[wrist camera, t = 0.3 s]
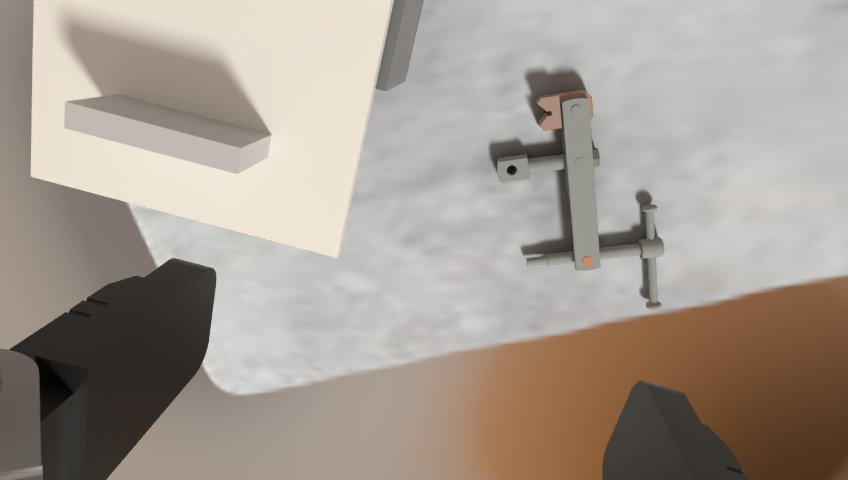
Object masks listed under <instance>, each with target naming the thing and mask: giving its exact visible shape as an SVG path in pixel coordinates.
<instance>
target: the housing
mask: <svg viewBox="0 0 848 480" xmlns="http://www.w3.org/2000/svg"><path fill="white" fill-rule="evenodd" d="M423 1H424V0H394V3H393V8H392V12H391V17H390V22H389V26H388V31H387V36H386V41H385V45H384V50H383V55H382V59H381V64H380V69H379V73H378V78H377V83H376V87H375V88H376V89H380V90H384V91H387V90H389V89H391V88H393V87H395V86H397V85H399V84H401V83H403V82H405V79H406V75H407V70H408V66H409V62H410V57H411V53H412V49H413V44H414V40H415V35H416V31H417V27H418V22H419V18H420V14H421V9H422V5H423Z"/></svg>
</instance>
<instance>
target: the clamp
mask: <svg viewBox="0 0 848 480" xmlns="http://www.w3.org/2000/svg"><path fill="white" fill-rule="evenodd" d="M535 102H536V103H537V104H538V105H539V106H540V107H542V108H543V109H544V110H546V111H547V112H548V111H549V112H548V113H544V114H543V116H542V117H541V118H540V120H539V121H538V122H537V124H538V125H539V127H540V128H542V129H543V130H544V131H546V130H553V129H559V128H561V136H562V148H563V154H559V155H552V156H545V157H538V158H531V159H527V154H522V155H515V156H508V157H501V158H498V160H497V172H498V177H499V179H500V182H501V183H505V182H513V181H520V180H527V179H529V174H534V173H541V172H548V171H556V170H563V169H564V171H565V183H566V195H568V193H569V200H570V212H571V224H572V236H573V251H568V252H560V253H551V254H546V255H544V256H541V257H534V258H527V266H531V265H540V264H542V265H546V264H547V265H557V264H565V263H574V262H575V268H576V270H592V269H597V268H600V259H609V258H618V257H626V256H635V255H639V256H640V258H641V259H643V258H647V263H648V284H649V302H647V303H646V307H647V308H649V309H653V310H655V309H659V308H660V307H661V303H660V302H658V299H657V276H656V257H661V256H662V255H663V254H664V244H663V241H662V239H661V238H660V237H655V230H654V211H656V210H657V206H656V205H653V204H647V205H644V206H642V207H641V210H642V211H643V212H645V221H646V238H645V239H639V240H638V243H636V244H628V245H619V246H611V247H602V248H599V238H598V224H597V209H596V195H595V181H594V167H595V166H599V164H600V157H599V151H598V149H597V148H593V149H592V138H591V123H590V120H591V118H592V117H593V104H592V96H591V95H589V94H588V93H587V92H585V91H584V90H581V89H580V90H574V91H567V92H561V93H554V94H548V95H541V96H538V98H537V99H536V100H535ZM511 165H513V166H515V167H516V169H515V171H514V172H508V171H507V168H508V167H509V166H511Z"/></svg>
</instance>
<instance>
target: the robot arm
mask: <svg viewBox="0 0 848 480" xmlns="http://www.w3.org/2000/svg"><path fill="white" fill-rule="evenodd" d="M215 288H216V272H215V270H214V269H213V268H210V267H206V266H203V265H199V264H195V263H191V262H187V261H183V260H179V259H176V258H172V259H170V260H168V261H167V262H166V263H164V264H163V265H161V266H160V267H159V268H157V269H156V270H155V271H153V272H152V273H150V274H149V275H147V276H146V277H145V278H143V277H139V276H134V277H131V278H127V279H124V280H121V281H118V282H114V283H111V284H108V285H106V286H105V287H103V288H101V289H100V290H98V291H97V292H95V293H94V294H92V295H91V296H89V297H88V298H87V300H86V301H82V302H80V303H79V304H77V305H76V306H74V307H73V308H71V309H70V311H69V313H66V312H65V313H64V314H62V315H61V316H59V317H58V318H56V319H55V320H53V321H52V322H50V323H49V324H47V325H46V326H44V327H43V328H41V329H39V330H38V331H37V332H35V333H33V334H32V335H30V336H29V337H27V338H26V339H25V340H23V341H21V342H20V343H18V344H17V345H15V346H14V347H12V348H11V349H9V350H5V349H0V480H106V479H107V478H108V477H109V475H110V474H111V473H112V472H113V471H114V469H116V467H117V466H118V465H119V464H120V463H121V461H122V460H123V459H124V458H125V457H126V456H127V454H128V453H129V452H130V451H131V450H132V448H133V447H134V446H135V445H136V444H137V443H138V441H139V440H140V439H141V438H142V437H143V435H144V434H145V433H146V432H147V431H148V430H149V428H150V427H151V426H152V425H153V424H154V422H155V421H156V420H157V419H158V418H159V417H160V415H161V414H162V413H163V412H164V411H165V409H166V408H167V407H168V406H169V405H170V404H171V402H172V401H173V400H174V399H175V398H176V396H177V395H178V394H179V393H180V392H181V391H182V389H183V388H184V387H185V386H186V385H187V384H188V382H189V381H190V380H191V379H192V378H193V376H194V375H195V374H196V373H197V371H198V370H199V368H200V366H201V364H202V362H203V359H204V357H205V354H206V351H207V347H208V343H209V335H210V327H211V319H212V311H213V303H214V296H215ZM743 472H744V470H743V468H742V467H741V465H740V463H739V462H738V460H737V459H736V457H735V455H734V454H733V452H732V450H731V449H730V447H728V445H726V444H725V443H724V442H723V441H722V440H721V439H720V438H719V437H718V436H717V435H716V434H715V433H714V432H713V431H712V430H711V429H710V428H709V427H708V426H706V425H703V424H702V423H701V421H700V420H699V418H698V416H697V415H696V413H695V411H694V410H693V408H692V406H691V404H690V402H689V401H688V399H687V397H686V395H685V394H684V393H683V392H682V391H679V390H675V389H671V388H667V387H664V386H660V385H655V384H652V383H648V382H644V381H639V382H637V383H636V384H635V385H634V386H633V388H632V390H631V392H630V394H629V396H628V399H627V401H626V403H625V405H624V408H623V410H622V412H621V415H620V417H619V419H618V422H617V424H616V426H615V429H614V431H613V433H612V435H611V438H610V440H609V442H608V445H607V447H606V450H605V454H604V459H603V468H602V475H603V480H749V478H748V477H747V475H744V474H743Z"/></svg>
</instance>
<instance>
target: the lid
mask: <svg viewBox="0 0 848 480" xmlns="http://www.w3.org/2000/svg"><path fill="white" fill-rule="evenodd" d="M393 3H394V0H34V16H33V76H32V78H33V80H32V138H31V139H32V140H31V177H35V178H38V179H42V180H46V181H50V182H53V183H57V184H61V185H65V186H68V187H72V188H76V189H80V190H83V191H87V192H91V193H95V194H98V195H102V196H106V197H110V198H114V199H117V200H121V201H125V202H128V203H132V204H136V205H140V206H144V207H147V208H151V209H155V210H159V211H162V212H166V213H170V214H174V215H177V216H181V217H185V218H189V219H192V220H196V221H200V222H204V223H207V224H211V225H215V226H219V227H222V228H226V229H230V230H234V231H237V232H241V233H245V234H249V235H252V236H256V237H260V238H264V239H267V240H271V241H275V242H279V243H283V244H286V245H290V246H294V247H298V248H301V249H305V250H309V251H313V252H316V253H320V254H324V255H328V256H331V257H335V258H337V257H338V255H339V254H340V251H341V247H342V242H343V237H344V233H345V228H346V223H347V219H348V214H349V209H350V205H351V200H352V195H353V191H354V186H355V181H356V176H357V172H358V167H359V162H360V158H361V153H362V148H363V144H364V139H365V134H366V130H367V125H368V120H369V116H370V111H371V106H372V101H373V97H374V92H375V87H376V83H377V78H378V73H379V69H380V64H381V59H382V55H383V50H384V45H385V41H386V36H387V31H388V26H389V22H390V17H391V12H392V8H393Z"/></svg>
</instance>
